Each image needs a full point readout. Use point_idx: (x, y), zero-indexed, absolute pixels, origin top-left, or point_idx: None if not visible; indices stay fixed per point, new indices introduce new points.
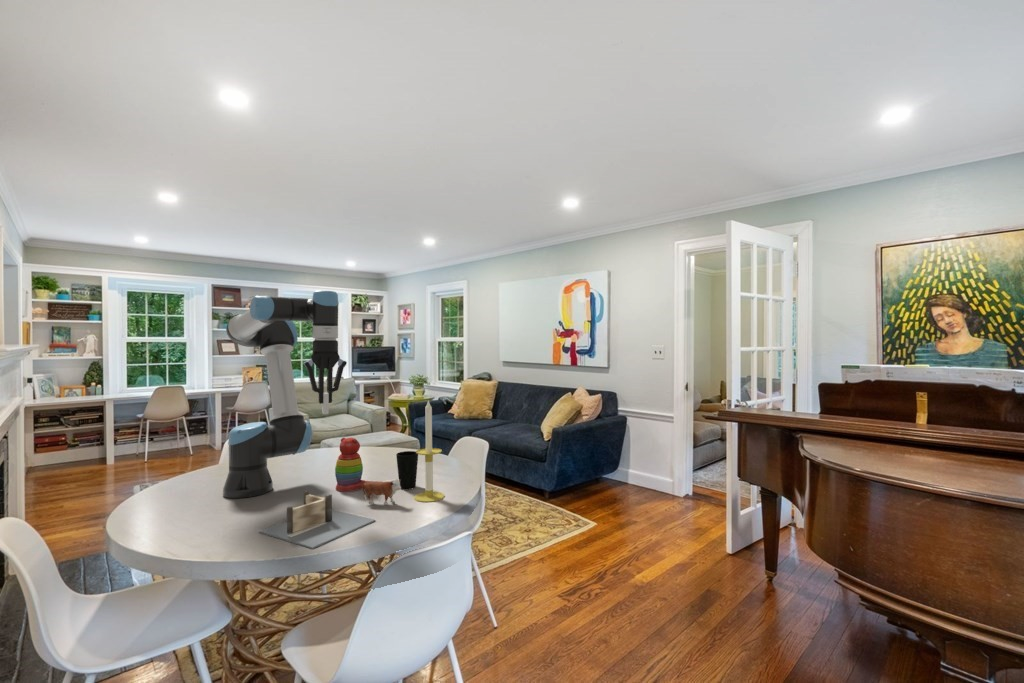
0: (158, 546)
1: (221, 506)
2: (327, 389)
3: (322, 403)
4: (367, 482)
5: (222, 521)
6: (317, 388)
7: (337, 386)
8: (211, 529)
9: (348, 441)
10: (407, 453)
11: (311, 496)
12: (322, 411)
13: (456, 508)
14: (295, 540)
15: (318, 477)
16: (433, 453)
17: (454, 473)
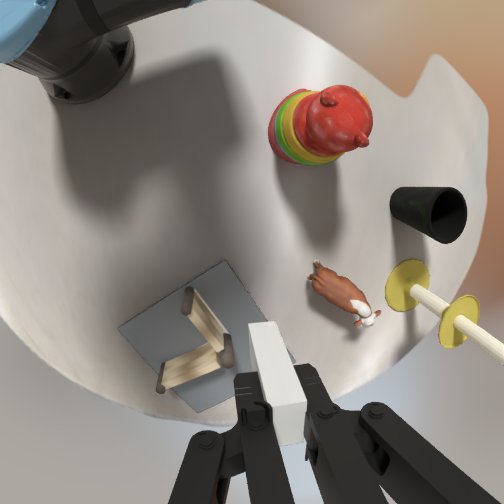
0: (9, 308)
1: (42, 145)
2: (314, 429)
3: (256, 368)
4: (323, 288)
5: (53, 242)
6: (230, 476)
7: (378, 459)
8: (47, 275)
9: (341, 139)
10: (452, 192)
11: (196, 327)
12: (250, 340)
13: (408, 350)
14: (174, 386)
15: (243, 9)
16: (453, 347)
17: (484, 167)
